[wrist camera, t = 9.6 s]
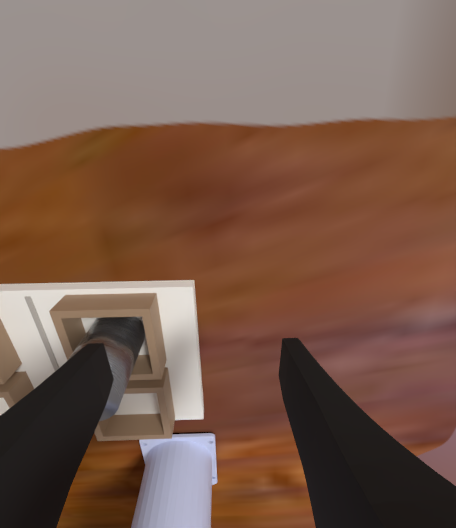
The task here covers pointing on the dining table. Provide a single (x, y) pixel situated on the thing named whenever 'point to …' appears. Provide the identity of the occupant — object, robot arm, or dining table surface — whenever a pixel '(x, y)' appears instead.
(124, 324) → the steel pin
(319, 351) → the dining table surface
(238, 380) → the dining table surface
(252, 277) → the dining table surface
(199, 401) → the white board with compartments
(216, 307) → the dining table surface
